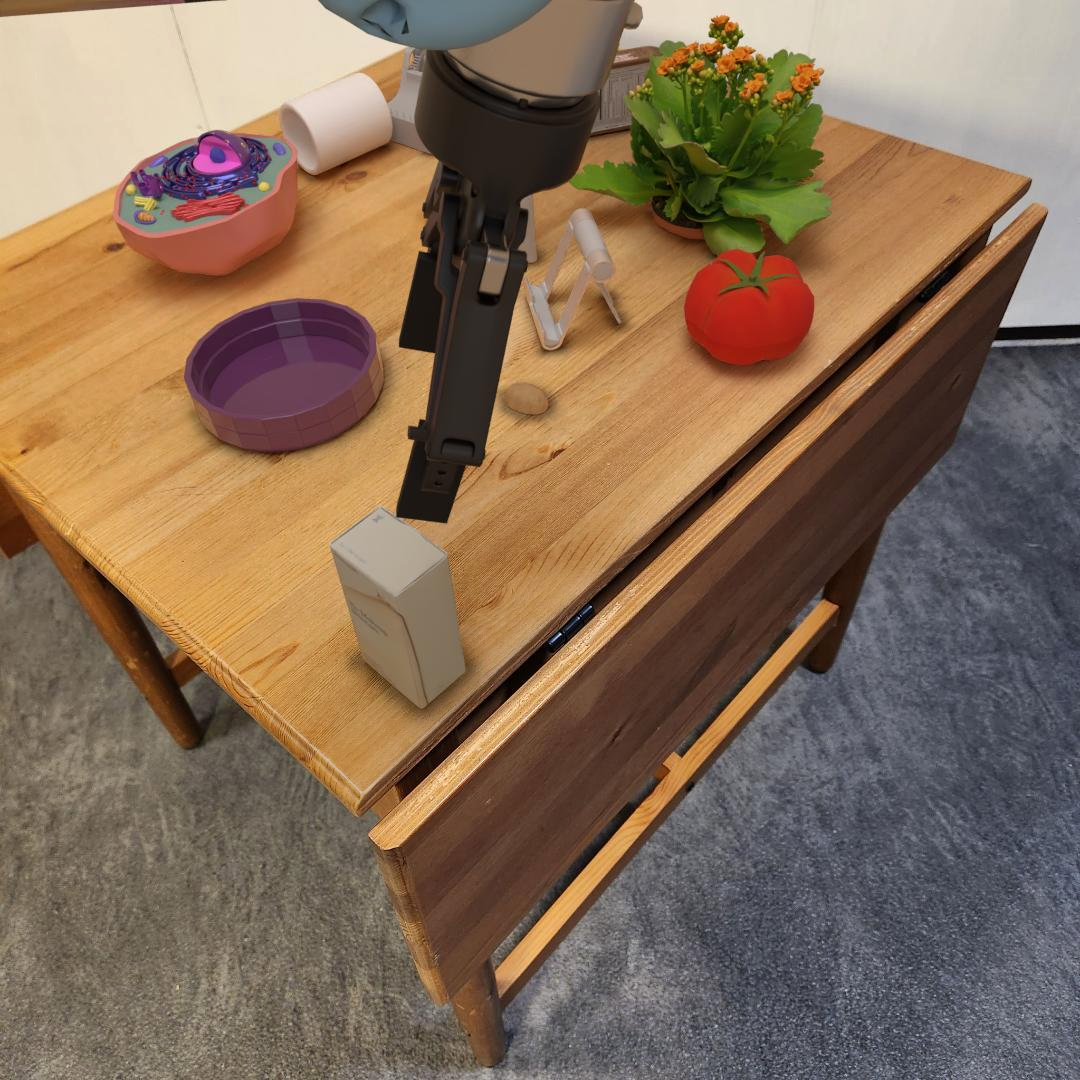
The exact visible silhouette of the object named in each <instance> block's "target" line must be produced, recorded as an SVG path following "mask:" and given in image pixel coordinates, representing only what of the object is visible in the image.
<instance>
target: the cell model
mask: <svg viewBox="0 0 1080 1080" xmlns="http://www.w3.org/2000/svg"><path fill="white" fill-rule="evenodd" d="M298 165H299V164H298V153H297V150H296V147H295V146H294V145H293V144H292V143H291V142H289V141H288V140H286V139H284V137H280V136H275V135H268V134H262V133H251V132H232V131H227V130H223V129H213V130H208V131H206V132H204V133H201V134H200V135H199V136H197V137H191V138H188V139H185V140H182V141H179V142H177V143H174V144H173V145H171V146H168V147H166V148H165V149H162V150H161V151H159V152H157V153H154V154H151V155H150V156H147V157H145V158H143V159H142V160H140V161H139V162H138V163H137V164H136V165H135V166H134V167H133V168H131V170H130V171H129V172H128V173H127V174H126V175H125V177H124V178H123V180H122V181H121V182H120V183H119V185H118V186H117V187H118V188H117V189H116V192H115V197H114V203H113V210H112V219H113V220H114V222H115V224H116V226H117V228H118V230H119V232H120V234H121V236H122V238H123V239H124V241H125V243H126V244H127V246H128V247H129V248H130V250H132V251H133V252H135V253H136V254H138V255H141V256H142V257H144V258H146V259H147V260H151V261H153V262H155V263H157V264H160V265H162V266H164V267H167V269H168V268H169V269H171V270H173V271H176V272H180V273H185V274H197V275H208V276H218V277H219V276H220V277H221V276H228V275H230V274H231V273H233V272H235V271H237V270H238V269H241V267H243V266H244V265H246V264H247V263H249V262H251V261H253V260H255V259H257V258H259V257H261V256H262V255H264V254H266V253H267V252H270V251H271V250H273V249H275V248H276V247H277V246H279V244H281V243H282V241H283V240H284V239H285V237H286V236H287V234H288V233H289V231H290V230H291V227H292V226H293V222H294V219H295V215H296V208H297V203H298V202H297V201H298V197H299V190H298V189H299V188H298V169H299V168H298V167H299V166H298Z"/></svg>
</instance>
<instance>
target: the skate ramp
mask: <svg viewBox="0 0 1080 1080" xmlns="http://www.w3.org/2000/svg"><path fill="white" fill-rule="evenodd" d="M426 52H427V50H422V49H416V48H412V47H406V49H405V51H404V52H403V59H402V68H401V76H400V77H401V78H400V84H399V88H398V91H397V93H396V95H395V96H394V97H393V98H392V99H391V100H390V101H388V102H387V104H388V107H389V110H390V114H391V118H392V136H391V139H390V141H391V142H395V143H397V144H400V145H403V146H405V147H406V146H407V147H409V148H411V149H415V150H418V151H420V152H424V153H426V154H429V155H432V154H431V153H430V152H429V151H428V150H427V148H426V147H425V146H424V144H423V143H422V141H421V140H420V138H419V136H418V134H417V131H416V128H415V123H414V113H415V107H416V102H417V97H418V92H419V87H420V82H421V77H422V72H423V67H424V56H425V55H426ZM412 56H413V58H412V61H411V57H412ZM411 62H412V63H411ZM410 63H411V64H410Z"/></svg>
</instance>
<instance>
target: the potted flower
mask: <svg viewBox="0 0 1080 1080" xmlns="http://www.w3.org/2000/svg"><path fill="white" fill-rule="evenodd" d="M730 19H731V17H730V16H729V15H726V14H721V15H720V16H718V15H716V16H713V17H711V18H710V21H711V22H710V23H709V25H708V28H709V29H710V30H709V31H708V33H707V37H708V38H709V39H715V40H714V42H712V43H710V42H705V43H701V44H699V43H700V42H697V41H694V42H693V43H690V44H688V45H686V44H685V42H683V41H681V40H678V41H677V42H675V41H672V40H668V39H667V40H664V41H663V42H662V43H660V45H659V47H658V48H659V49H658V52H659V53H660V54H663V56H661V57H658V56H657V54H655V55H654V56H651V55H650V56H649V60H650V63H649V67H650V68H648V70H647V72H646V75H645V82H644V83H643V84H642V88H641V87H640V86H639V85H637V86H636V92H637V93H638V94H637V95H636V93H635V92H633V91H629V95H630V96H629V97H628V96H627V95H625V96H624V97H623V99H624V102H625V104H626V105H627V108H628V110H629V111H630V112H631V113H632V116H631V120H632V124H631V125H630V129H629V131H630V134H629V135H630V137H631V140H630V143H629V144H630V150H631V156H632V159H633V161H634V162H633V161H631V162H630V163H629V162H626V161H625V160H623V162H619V163H617V166H616V165H615V162H614V161H610V160H608V159H605V160H604V161H603V167H602V166H601V165H600V164H596V163H587V164H585V165H583V167H582V169H583V171H582V172H579V173H578V172H577V173H576V174H575V175H574V176H573V177H572V179H570V180H569V181H568V183H569V184H570V185H571V186H572V187H573V188H575V189H576V190H581V191H588V192H593V193H597V194H599V195H604V196H608V197H612V198H614V199H618V200H620V201H621V202H624V203H626V204H628V205H631V206H633V207H641V206H643V205H645V204H647V203H648V202H649V201H650V208H651V214H652V216H653V218H654V221H655V222H656V223H657V224H658V226H659V227H660V228H662V229H664V230H666V231H667V232H669V233H670V234H674V235H676V236H680V237H683V238H686V239H689V240H704V241H705V243H706V245H707V247H708V248H709V250H710V252H711V253H712V254H713V255H714V256H716V257H718V256H719V255H720V254H722V253H723V252H724V251H729V250H734V249H739V250H742V251H745V252H748V253H752V254H756V253H758V252H760V251H762V249H763V247H764V246H765V245H766V243H767V242H766V239H765V238H764V237H763V236H764V235H765V232H764V231H763V230H762V227H763V226H762V225H761V224H760V223H759V224H758V221H760V222H762V223H764V224H765V225H767V226H768V227H769V228H770V229H771V230H772V231H773V233H774V234H775V235H776V236H777V238H778V239H779V240H781V242H782V244H784V245H789V244H790V243H791V242H792V241H793V240H794V239H795V238H796V237H797V236H798V235H799V234H800V233H801V232H802V231H804V230H806V229H808V228H810V227H812V226H814V225H816V224H818V223H819V222H821V221H823V220H825V219H826V218H828V217H830V216H831V214H832V213H833V212H832V210H828V209H830V208H831V207H832V205H833V200H832V198H830V197H829V195H827V194H826V193H824V192H821V191H819V190H821V189H822V188H824V186H825V180H824V179H823V178H822V179H816V180H812V181H810V182H807V183H804V184H801V185H799V184H800V183H803V182H805V180H807V179H809V178H813V176H815V173H814V171H812V170H815V169H817V167H818V166H820V165H822V163H824V160H823V159H822V158H825V153H824V152H823V151H822V150H820V149H817V148H811V147H812V146H813V144H814V142H815V139H814V138H815V137H816V136H817V134H818V132H819V130H820V125H821V124H822V122H823V121H824V117H823V116H822V115H823V114H824V110H823V106H822V105H821V104H820V103H814V102H811V100H812V99H814V96H813V95H814V92H813V90H815V89H816V87H819V86H820V84H821V81H822V79H821V76H822V75H823V74H825V69H824V68H822V67H818V68H817V69H814V67H815V65H816V63H815V62H816V60H817V59H816V58H815V57H814V58H810V57H809V56H808V55H806V54H804V53H799V52H797V53H795V54H794V52H793V51H790V52H789V53H788V50H787V49H785V48H782V49H780V50H778V51H777V52H775V53H774V54H773V57H771V56H769V57H765V56H764V55H763V54H762V53H756V54H755V57H754V56H753V55H752V54H754V53H755V52H757V49H755V48H753V47H752V46H748V45H743V46H741V45H740V46H738V45H739V42H740V40H741V39H743V38H744V37H745V35H746V34H745V33H744V32H743V29H740V25H739V22H737V21H736V22H734V21H730ZM739 29H740V30H739ZM724 45H726V46H724ZM726 48H727V49H729V52H728V53H726V54H724V53H723V51H724V50H725V49H726ZM715 64H716V65H715ZM746 80H747V81H746ZM728 86H729V88H730V91H729V90H728V89H727V88H728ZM728 93H729V95H728V97H727V94H728ZM644 95H645V97H644ZM668 182H669V183H668ZM816 191H817V192H816Z"/></svg>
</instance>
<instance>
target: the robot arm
mask: <svg viewBox="0 0 1080 1080" xmlns="http://www.w3.org/2000/svg"><path fill="white" fill-rule="evenodd" d="M220 1H221V2H224V1H226V0H0V18H8V17H18V16H19V17H21V16H31V15H32V16H34V15H47V14H59V13H60V14H61V13H73V12H86V11H87V12H88V11H100V10H114V9H128V8H143V7H153V6H154V7H156V6H167V5H169V6H170V5H181V4H193V3H205V2H206V3H207V2H220ZM317 1H318V2H319V3H320V4H321V5H322V7H323V8H324V9H325V10H327V11H329V12H330V13H332V14H333V15H336V16H337V17H339V18H340V19H342V20H344V21H346V22H347V23H349V24H351V25H353V26H354V27H356V28H358V29H359V30H361V31H362V32H364V33H365V34H367V35H370V36H372V37H374V38H378V39H381V40H383V41H387V42H389V43H393V44H397V45H401V46H404V47H407V48H409V47H412V48H416V49H422V50H427V52H426V57H425V62H424V67H423V72H422V77H421V82H420V87H419V92H418V97H417V102H416V107H415V113H414V123H415V128H416V131H417V134H418V136H419V138H420V140H421V141H422V143H423V144H424V146H425V147H426V148H427V150H428V151H429V152H430V153H431V154H430V155H432V156H433V157H434V158H435V159H436V160H437V164H436V168H435V171H434V174H433V176H432V180H431V183H430V185H429V189H428V192H427V195H426V198H425V201H424V202H422V206H421V212H422V215H423V219H426V222H425V224H424V226H423V227H422V230H420V237H419V240H421V247H424V248H427V250H426V251H423V250H422V251H421V250H418V253H417V256H416V262H415V265H414V270H413V275H412V279H411V284H410V289H409V293H408V297H407V302H406V306H405V309H404V310H405V311H404V315H403V319H402V324H401V328H400V332H399V337H398V348H400V349H404V350H405V349H406V350H412V351H418V352H424V353H430V354H434V357H433V362H432V363H433V364H432V371H431V378H430V385H429V391H428V398H427V406H426V411H425V419H422V418H419V420H418V424H417V426H416V425H409V424H408V426H407V440H411V441H413V442H412V447H411V450H410V454H409V457H408V461H407V465H406V469H405V472H404V475H403V480H402V483H401V488H400V491H399V495H398V499H397V503H396V507H395V515H396V517H397V518H400V519H406V520H414V521H422V522H431V523H439V524H446V525H447V524H448V522H449V519H450V516H451V514H452V513H451V512H452V510H453V506H454V504H455V502H456V501H455V500H456V498H457V494H458V491H459V488H460V486H461V482H462V480H463V476H464V473H465V470H466V468H467V467H475V468H481V467H482V465H483V463H484V460H485V458H486V456H487V455H486V453H487V450H486V446H487V442H488V437H489V432H490V427H491V422H492V417H493V414H494V413H493V412H494V408H495V404H496V398H497V394H498V389H499V383H500V378H501V374H502V373H501V372H502V368H503V365H504V359H505V355H506V350H507V345H508V339H509V335H510V330H511V326H512V322H513V321H512V320H513V315H514V312H515V307H516V303H517V299H518V296H519V292H520V290H521V285H522V283H523V280H524V276H525V274H526V273H527V271H528V267H529V263H528V260H527V253H526V251H522V250H518V248H519V246H520V245H521V244H522V243H523V242H524V240H525V237H526V230H527V224H528V216H529V211H528V209H525V208H521V207H520V203H521V201H522V199H524V198H525V197H527V196H530V195H532V194H533V195H534V194H537V193H542V192H547V191H552V190H555V189H557V188H560V187H562V186H563V185H566V184H567V183H569V180H570V179H572V177H573V176H574V175H575V174H577V173H578V170H579V168H580V166H581V163H582V160H583V157H584V154H585V151H586V149H587V147H588V146H587V145H588V143H589V140H590V137H591V136H590V134H591V131H592V128H593V125H594V122H595V119H596V117H597V114H598V111H599V108H600V96H599V93H598V90H600V89H601V88H602V87H603V86H604V85H605V84H606V83H607V80H608V77H609V74H610V71H611V68H612V66H613V63H614V60H615V57H616V54H617V51H619V48H620V45H621V44H620V42H621V38H622V36H623V33H624V29H625V30H637V29H638V28H640V25H641V23H642V20H643V19H644V13H643V12H644V11H643V6H641V5H640V4H639V3H637V2H636V0H317Z"/></svg>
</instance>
